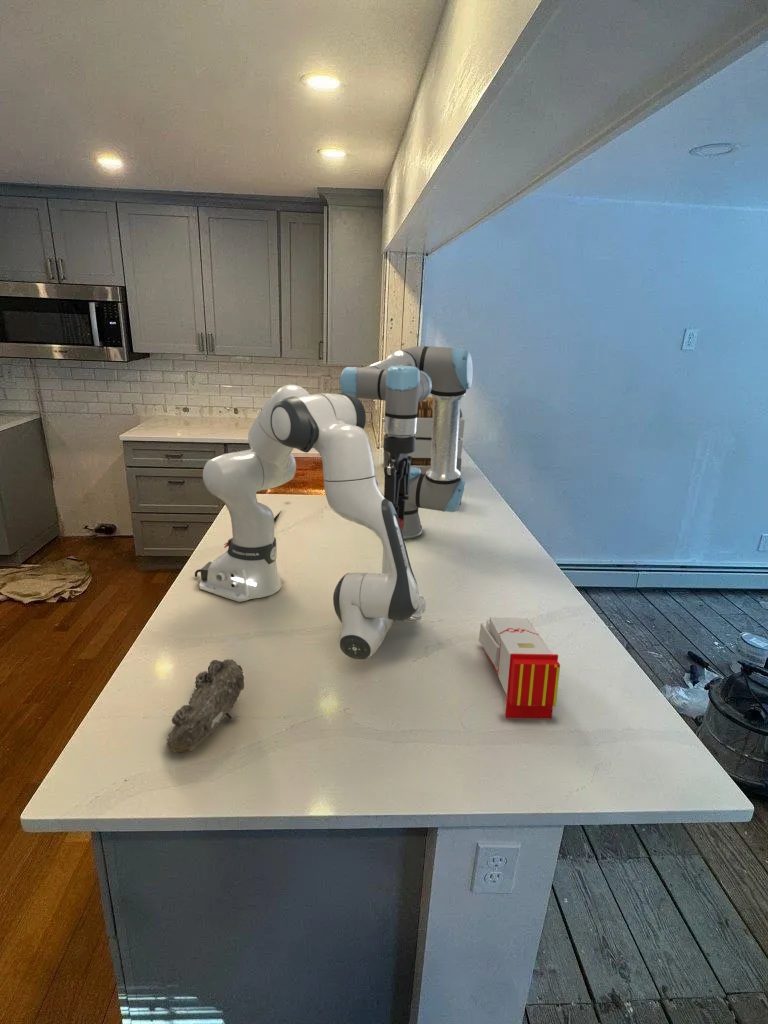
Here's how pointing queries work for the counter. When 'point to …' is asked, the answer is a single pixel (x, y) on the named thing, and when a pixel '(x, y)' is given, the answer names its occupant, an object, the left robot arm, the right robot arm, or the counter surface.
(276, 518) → the feather
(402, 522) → the cap
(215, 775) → the counter surface
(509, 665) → the toy
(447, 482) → the right robot arm
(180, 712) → the fossil
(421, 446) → the grey slatted box
